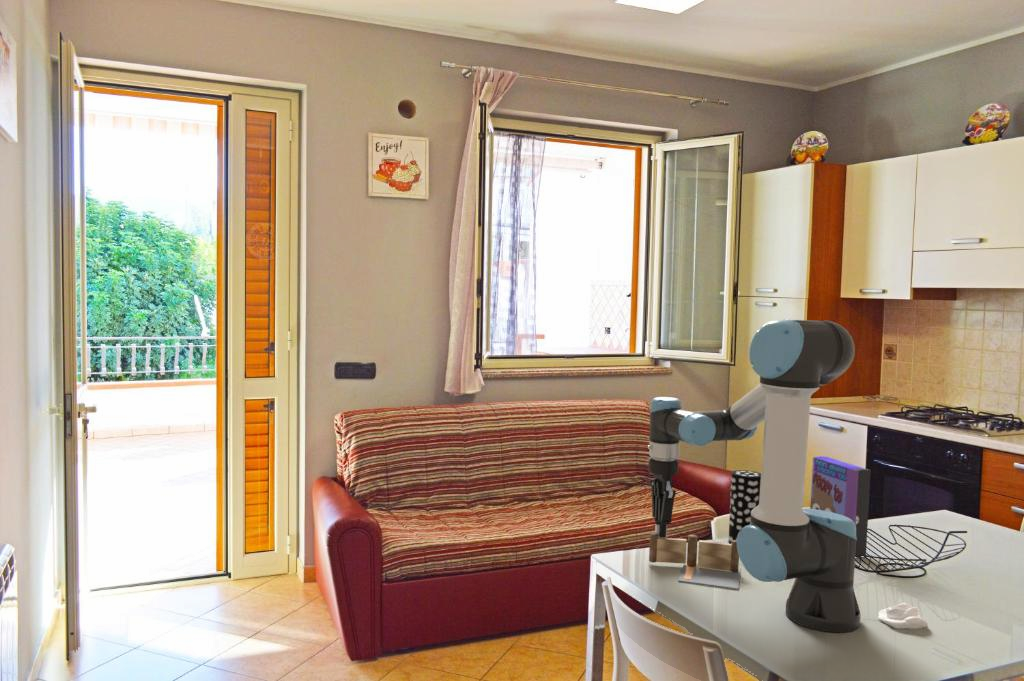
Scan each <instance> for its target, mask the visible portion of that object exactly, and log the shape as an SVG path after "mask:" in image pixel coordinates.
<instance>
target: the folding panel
mask: <svg viewBox="0 0 1024 681" xmlns="http://www.w3.org/2000/svg"><path fill="white" fill-rule="evenodd" d="M687 546H688V539H687V538H673V537H670V538H669V537H667V538H658V534H656V533H655V532H651V533H649V550H648V552H649V555H648V561H649V562H650V563H666V564H667V563H668V564H683V565H684V564H686V562H687Z"/></svg>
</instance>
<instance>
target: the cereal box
mask: <svg viewBox="0 0 1024 681" xmlns="http://www.w3.org/2000/svg"><path fill="white" fill-rule="evenodd" d="M811 470H812V471H811V488H810V507H809V509H817V510H823V511H828V512H833V513H836V514H840V515H843V516H846V517H848V518H850V519H851V520H853V521H854V523H855V525H856V537H857V540H856V552H855V557H861V556H866V557H867V542H868V541H867V540H868V526H869V525H868V524H869V511H870V510H869V508H870V507H869V506H870V491H871V490H870V489H871V488H870V487H871V473H872V471H871V469H868V468H865V467H861V466H858V465H855V464H852V463H848V462H845V461H841V460H838V459H835V458H832V457H828V456H825V455H824V456H813V457H812V469H811ZM861 558H862V557H861Z"/></svg>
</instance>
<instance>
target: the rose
mask: <svg viewBox="0 0 1024 681" xmlns="http://www.w3.org/2000/svg"><path fill="white" fill-rule="evenodd" d="M877 615H878V616H877V620H878V621H879V622H881V623H883V622H884V623H883V624H886V625H888V626H890V627H891V626H892V628H893V627H894V628H893V629H896V628H910V629H923V627H924V628H926V627H927V626H928V622H927V620H925V619H924V618H922V617H921V614H920V613H919V611H918V609H917V606H914V607H913V606H912V605H910V604H907V603H906V602H900V603H899V604H896V605H892V606H889V607H887V608H884V609H883V608H882V609H880V610H879V611H878V613H877Z"/></svg>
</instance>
